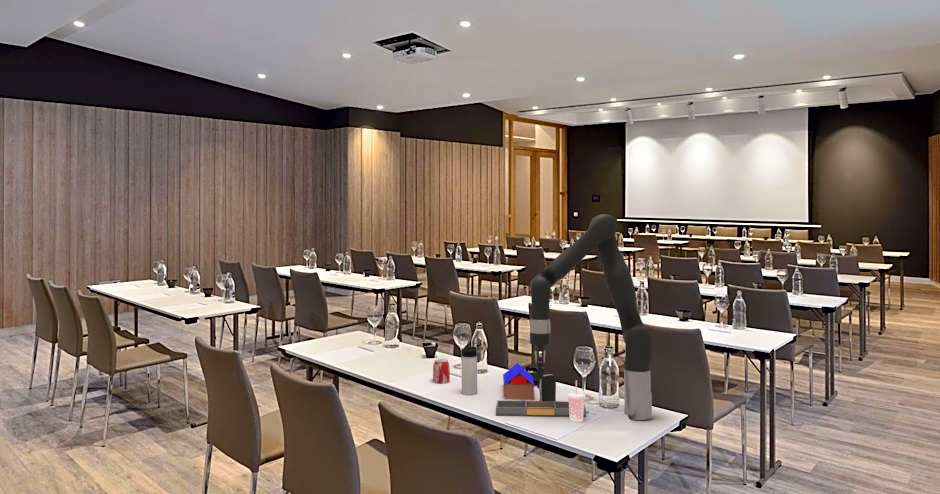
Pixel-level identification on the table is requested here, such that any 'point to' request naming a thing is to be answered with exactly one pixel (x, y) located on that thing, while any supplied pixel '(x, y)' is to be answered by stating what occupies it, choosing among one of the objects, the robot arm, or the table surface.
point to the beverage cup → (576, 406)
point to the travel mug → (469, 371)
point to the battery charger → (547, 387)
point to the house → (518, 384)
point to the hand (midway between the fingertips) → (540, 376)
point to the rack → (534, 408)
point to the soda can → (441, 371)
